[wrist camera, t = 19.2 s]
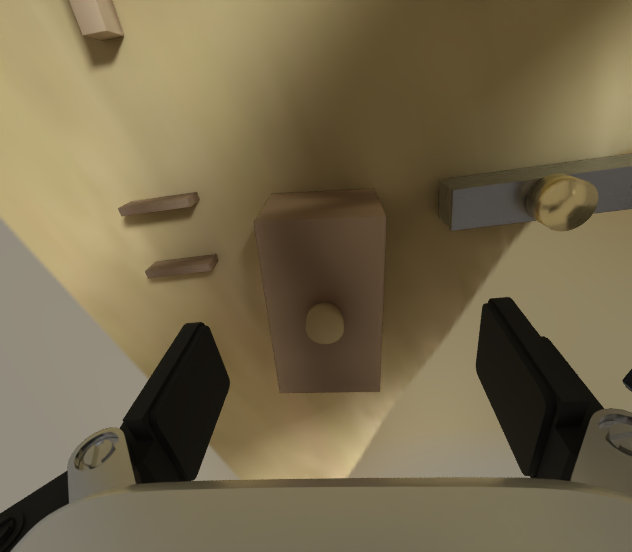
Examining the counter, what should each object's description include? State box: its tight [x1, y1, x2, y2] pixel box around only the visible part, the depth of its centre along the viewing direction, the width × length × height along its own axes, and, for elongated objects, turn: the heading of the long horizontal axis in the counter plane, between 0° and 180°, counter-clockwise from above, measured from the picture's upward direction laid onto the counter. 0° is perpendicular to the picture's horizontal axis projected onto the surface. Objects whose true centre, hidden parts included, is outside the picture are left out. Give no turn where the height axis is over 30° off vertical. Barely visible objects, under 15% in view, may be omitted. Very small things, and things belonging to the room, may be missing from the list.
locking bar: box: [439, 153, 632, 231], centre depth 14 cm, size 12×2×3 cm, turn 98°
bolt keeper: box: [118, 192, 218, 278], centre depth 17 cm, size 4×4×1 cm
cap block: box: [254, 189, 386, 393], centre depth 16 cm, size 5×9×5 cm, turn 3°
